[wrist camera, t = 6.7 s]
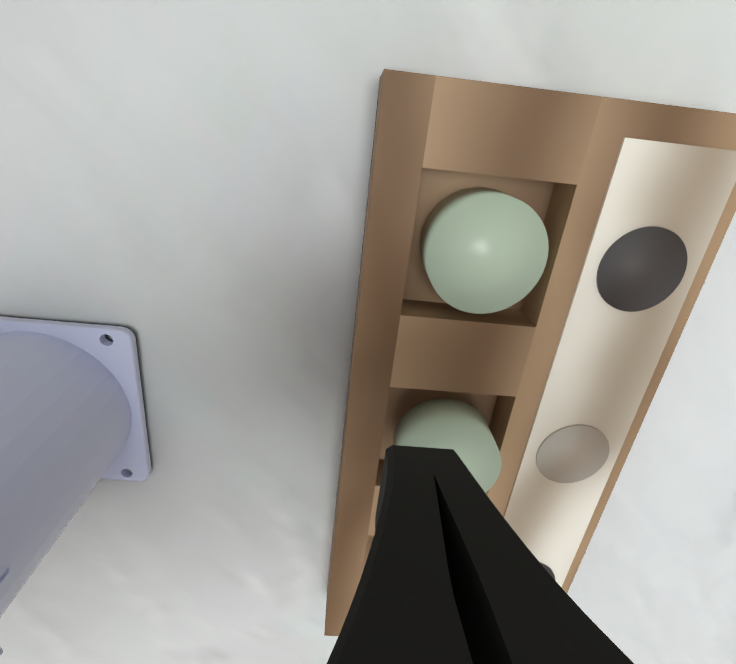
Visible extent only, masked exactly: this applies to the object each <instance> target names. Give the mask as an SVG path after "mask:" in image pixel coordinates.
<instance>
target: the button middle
mask: <svg viewBox="0 0 736 664" xmlns="http://www.w3.org/2000/svg"><path fill="white" fill-rule="evenodd" d="M393 443H394V445H400V446H413V447H427V448H441V449H454V451H455V452H456V453H457V454H458V456H459V457H460V458H461V460H462V461H463V463H464V464H465V465H466V467H467V468H468V470H469V471H470V472H471V474H472V475H473V477H474V478H475V479H476V481H477V482H478V484H479V485H480V486H481V488H482V489H483V490H484V492H485V493H486V492H487V491H488V490H489V489H490V488H491V487H492V486H493V485H494V483H495V482H496V480H497V478H498V476H499V474H500V471H501V463H502V461H501V455H500V451H499V449H498V447H497V444H496V442H495V440H494V438H493V435H492V433H491V431H490V429H489V426H488V424H487V422H486V420H485V418H484V416H483V415H482V414H481V412H480V411H479V410H478V409H476V408H475V407H474V406H472V405H470V404H469V403H466V402H464V401H461V400H457V399H451V398H440V399H433V400H429V401H426V402H423V403H421V404H419V405H417V406H415V407H413V408H412V409H411V410H409V411H408V412H407V413H406V414H405V415H404V416H403V417H402V418H401V420H400V421H399V423H398V424H397V426H396V429H395V432H394V437H393Z"/></svg>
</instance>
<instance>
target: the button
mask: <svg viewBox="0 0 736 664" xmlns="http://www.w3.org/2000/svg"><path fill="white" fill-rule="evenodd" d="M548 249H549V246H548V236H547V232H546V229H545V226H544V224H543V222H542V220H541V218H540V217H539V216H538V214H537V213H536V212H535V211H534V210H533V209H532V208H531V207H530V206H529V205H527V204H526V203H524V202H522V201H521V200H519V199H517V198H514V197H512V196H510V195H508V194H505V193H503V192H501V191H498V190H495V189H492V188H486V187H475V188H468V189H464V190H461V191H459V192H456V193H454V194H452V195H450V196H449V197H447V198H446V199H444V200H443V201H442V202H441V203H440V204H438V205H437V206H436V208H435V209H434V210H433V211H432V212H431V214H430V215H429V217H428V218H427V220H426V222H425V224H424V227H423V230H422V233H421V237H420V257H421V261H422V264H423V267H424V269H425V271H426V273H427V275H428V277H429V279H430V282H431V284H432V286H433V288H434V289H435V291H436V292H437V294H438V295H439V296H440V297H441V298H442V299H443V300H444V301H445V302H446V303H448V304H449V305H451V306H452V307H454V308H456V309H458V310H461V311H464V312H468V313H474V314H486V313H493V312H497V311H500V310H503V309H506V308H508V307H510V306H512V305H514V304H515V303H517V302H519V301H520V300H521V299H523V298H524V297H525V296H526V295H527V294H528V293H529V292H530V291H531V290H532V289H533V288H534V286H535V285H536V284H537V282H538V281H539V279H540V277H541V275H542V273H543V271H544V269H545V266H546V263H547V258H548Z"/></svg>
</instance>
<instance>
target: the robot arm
mask: <svg viewBox="0 0 736 664" xmlns="http://www.w3.org/2000/svg"><path fill="white" fill-rule="evenodd" d="M105 334H106V335H109V336H110V337H112V339H113V342H111V341H108V340H107V339H106V338H105V336H104V335H105ZM126 469H129V470H130V471H128V470H126ZM131 471H132V472H131ZM150 473H151V461H150V453H149V445H148V437H147V429H146V421H145V412H144V404H143V396H142V388H141V380H140V372H139V363H138V355H137V347H136V339H135V336H134V334H133V333H132V331H131V330H129V329H128V328H125V327H121V326H109V325H97V324H85V323H73V322H61V321H50V320H38V319H26V318H14V317H2V316H0V617H1V616H2V614H3V613H4V611H5V610H6V609H7V607H8V606H9V605H10V603H11V602H12V600H13V599H14V598H15V596H16V595H17V593H18V592H19V591H20V589H21V588H22V587H23V585H24V584H25V582H26V581H27V580H28V578H29V577H30V575H31V574H32V573H33V571H34V570H35V569H36V567H37V566H38V564H39V563H40V562H41V560H42V559H43V557H44V556H45V555H46V553H47V552H48V551H49V549H50V548H51V546H52V545H53V544H54V542H55V541H56V539H57V538H58V537H59V535H60V534H61V533H62V531H63V530H64V528H65V527H66V526H67V524H68V523H69V521H70V520H71V519H72V517H73V516H74V515H75V513H76V512H77V510H78V509H79V508H80V506H81V505H82V503H83V502H84V501H85V499H86V498H87V497H88V495H89V494H90V492H91V491H92V490H93V488H94V487H95V485H96V484H97V483H98V481H99V480H100V479H111V480H128V481H144V480H146V479H147V478H148V477H149V475H150ZM2 653H3V650H2V648H1V647H0V656H1V654H2ZM327 664H634V663H633V662H632V661H631V660H630V659H629V658H628V657H627V656H626V655H625V654H624V653H623V652H622V651H621V650H620V649H619V648H618V647H617V646H616V645H615V644H614V643H613V642H612V641H611V640H610V639H609V638H608V637H607V636H606V635H605V634H604V633H603V632H602V631H601V630H600V629H599V628H598V627H597V626H596V625H595V624H594V623H593V622H592V620H591V619H590V618H589V617H588V616H587V615H586V614H585V613H584V612H583V611H582V610H581V609H580V608H579V607H578V606H577V604H576V603H575V602H574V601H573V600H572V599H571V598H570V597H569V596H568V594H567V593H566V592H565V591H564V590H563V589H562V588H561V586H560V585H559V584H558V583H557V582H556V581H555V580H554V578H553V577H552V576H551V575H550V574H549V573H548V571H547V570H546V569H545V568H544V567H543V566H542V564H541V563H540V562H539V561H538V560H537V558H536V557H535V556H534V555H533V554H532V552H531V551H530V550H529V549H528V548H527V546H526V545H525V544H524V542H523V541H522V540H521V539H520V537H519V536H518V535H517V534H516V532H515V531H514V530H513V529H512V527H511V526H510V525H509V523H508V522H507V521H506V520H505V518H504V517H503V516H502V515H501V513H500V512H499V511H498V509H497V508H496V507H495V505H494V504H493V503H492V501H491V500H490V499H489V497H488V496H487V494H486V493H485V492H484V490H483V489H482V488H481V486H480V485H479V484H478V482H477V481H476V479H475V478H474V477H473V475H472V474H471V472H470V471H469V470H468V468H467V467H466V465H465V464H464V463H463V461H462V460H461V458H460V457H459V456H458V454H457V453H456V452H455V451H454V449H441V448H427V447H413V446H400V445H392V446H390V447H388V448H387V449H386V451H385V458H384V464H383V470H382V477H381V483H380V490H379V496H378V503H377V509H376V516H375V535H374V538H373V541H372V544H371V548H370V551H369V554H368V557H367V560H366V563H365V566H364V569H363V573H362V576H361V579H360V582H359V584H358V587H357V590H356V593H355V595H354V598H353V601H352V603H351V606H350V609H349V611H348V614H347V616H346V619H345V621H344V624H343V626H342V629H341V631H340V634H339V636H338V639H337V641H336V644H335V646H334V648H333V651H332V653H331V655H330V658H329V660H328V662H327Z"/></svg>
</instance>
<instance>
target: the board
mask: <svg viewBox="0 0 736 664" xmlns="http://www.w3.org/2000/svg"><path fill="white" fill-rule="evenodd" d="M475 187H486V188H492V189H495V190H498V191H501V192H503V193H505V194H508V195H510V196H512V197H514V198H517V199H519V200H521V201H522V202H524V203H526V204H527V205H529V206H530V207H531V208H532V209H533V210H534V211H535V212H536V213H537V214H538V216H539V217H540V218H541V220H542V222H543V224H544V226H545V229H546V232H547V236H548V246H549V249H548V258H547V263H546V266H545V269H544V271H543V273H542V275H541V277H540V279H539V281H538V282H537V284H536V285H535V286H534V288H533V289H532V290H531V291H530V292H529V293H528V294H527V295H526V296H525V297H524V298H523V299H521V300H520V301H519V302H517V303H515V304H514V305H512V306H510V307H508V308H506V309H503V310H500V311H497V312H493V313H486V314H474V313H468V312H464V311H461V310H458V309H456V308H454V307H452V306H451V305H449V304H448V303H446V302H445V301H444V300H443V299H442V298H441V297H440V296H439V295H438V294H437V292H436V291H435V289H434V288H433V286H432V284H431V282H430V279H429V277H428V275H427V273H426V271H425V269H424V267H423V264H422V261H421V257H420V237H421V233H422V230H423V227H424V224H425V222H426V220H427V218H428V217H429V215H430V214H431V212H432V211H433V210H434V209H435V208H436V206H437V205H438V204H440V203H441V202H442V201H443V200H444V199H446V198H447V197H449V196H450V195H452V194H454V193H456V192H459V191H461V190H464V189H468V188H475ZM735 211H736V114H735V113H727V112H719V111H711V110H703V109H695V108H687V107H679V106H672V105H664V104H656V103H648V102H640V101H632V100H624V99H616V98H608V97H601V96H593V95H585V94H577V93H569V92H561V91H553V90H545V89H537V88H529V87H522V86H514V85H506V84H498V83H490V82H482V81H474V80H466V79H458V78H450V77H443V76H435V75H427V74H419V73H411V72H403V71H395V70H387V69H384V71H383V73H382V75H381V77H380V82H379V92H378V101H377V111H376V121H375V130H374V140H373V150H372V160H371V169H370V179H369V189H368V199H367V208H366V218H365V228H364V237H363V247H362V257H361V267H360V276H359V286H358V296H357V306H356V315H355V325H354V335H353V344H352V354H351V364H350V374H349V383H348V393H347V403H346V413H345V422H344V432H343V442H342V451H341V461H340V471H339V481H338V490H337V500H336V510H335V519H334V529H333V539H332V549H331V558H330V568H329V578H328V588H327V602H326V619H325V635H327V636H339V634H340V631H341V629H342V626H343V624H344V621H345V619H346V616H347V614H348V611H349V609H350V606H351V603H352V601H353V598H354V595H355V593H356V590H357V587H358V584H359V582H360V579H361V576H362V573H363V569H364V566H365V563H366V560H367V557H368V554H369V551H370V548H371V544H372V541H373V538H374V535H375V516H376V509H377V503H378V496H379V490H380V483H381V477H382V470H383V464H384V458H385V451H386V449H387V448H388V447H390V446H392V445H394V443H393V437H394V432H395V429H396V426H397V424H398V423H399V421H400V420H401V418H402V417H403V416H404V415H405V414H406V413H407V412H408V411H409V410H411V409H412V408H413V407H415V406H417V405H419V404H421V403H423V402H426V401H429V400H433V399H440V398H451V399H457V400H461V401H464V402H466V403H469V404H470V405H472V406H474V407H475V408H476V409H478V410H479V411H480V412H481V414H482V415H483V416H484V418H485V420H486V422H487V424H488V426H489V429H490V431H491V433H492V435H493V438H494V440H495V442H496V444H497V447H498V449H499V451H500V455H501V461H502V463H501V471H500V474H499V476H498V478H497V480H496V482H495V483H494V485H493V486H492V487H491V488H490V489H489V490H488V491H487V492H486V494H487V496H488V497H489V499H490V500H491V501H492V503H493V504H494V505H495V507H496V508H497V509H498V511H499V512H500V513H501V515H502V516H503V517H504V518H505V520H506V521H507V522H508V523H509V525H510V526H511V527H512V529H513V530H514V531H515V532H516V534H517V535H518V536H519V537H520V539H521V540H522V541H523V542H524V544H525V545H526V546H527V548H528V549H529V550H530V551H531V552H532V554H533V555H534V556H535V557H536V558H537V560H538V561H539V562H540V563H541V564H542V566H543V567H544V568H545V569H546V570H547V571H548V573H549V574H550V575H551V576H552V577H553V578H554V580H555V581H556V582H557V583H558V584H559V585H560V586H561V588H562V589H563V590H564V591H565V592H566V593H567V592H568V590H569V588H570V585H571V583H572V581H573V579H574V576H575V574H576V572H577V570H578V567H579V565H580V563H581V560H582V558H583V556H584V554H585V551H586V549H587V547H588V545H589V542H590V540H591V538H592V536H593V533H594V531H595V529H596V526H597V524H598V522H599V520H600V517H601V515H602V513H603V511H604V508H605V506H606V504H607V501H608V499H609V497H610V495H611V492H612V490H613V488H614V486H615V483H616V481H617V479H618V477H619V474H620V472H621V470H622V467H623V465H624V463H625V461H626V458H627V456H628V454H629V452H630V449H631V447H632V445H633V442H634V440H635V438H636V436H637V433H638V431H639V429H640V427H641V424H642V422H643V420H644V417H645V415H646V413H647V411H648V408H649V406H650V404H651V402H652V399H653V397H654V395H655V393H656V390H657V388H658V386H659V383H660V381H661V379H662V377H663V374H664V372H665V370H666V368H667V365H668V363H669V361H670V358H671V356H672V354H673V352H674V349H675V347H676V345H677V343H678V340H679V338H680V336H681V334H682V331H683V329H684V327H685V324H686V322H687V320H688V318H689V315H690V313H691V311H692V309H693V306H694V304H695V302H696V299H697V297H698V295H699V293H700V290H701V288H702V286H703V284H704V281H705V279H706V277H707V275H708V272H709V270H710V268H711V265H712V263H713V261H714V259H715V256H716V254H717V252H718V250H719V247H720V245H721V243H722V240H723V238H724V236H725V234H726V231H727V229H728V227H729V225H730V222H731V220H732V218H733V216H734V213H735Z"/></svg>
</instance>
